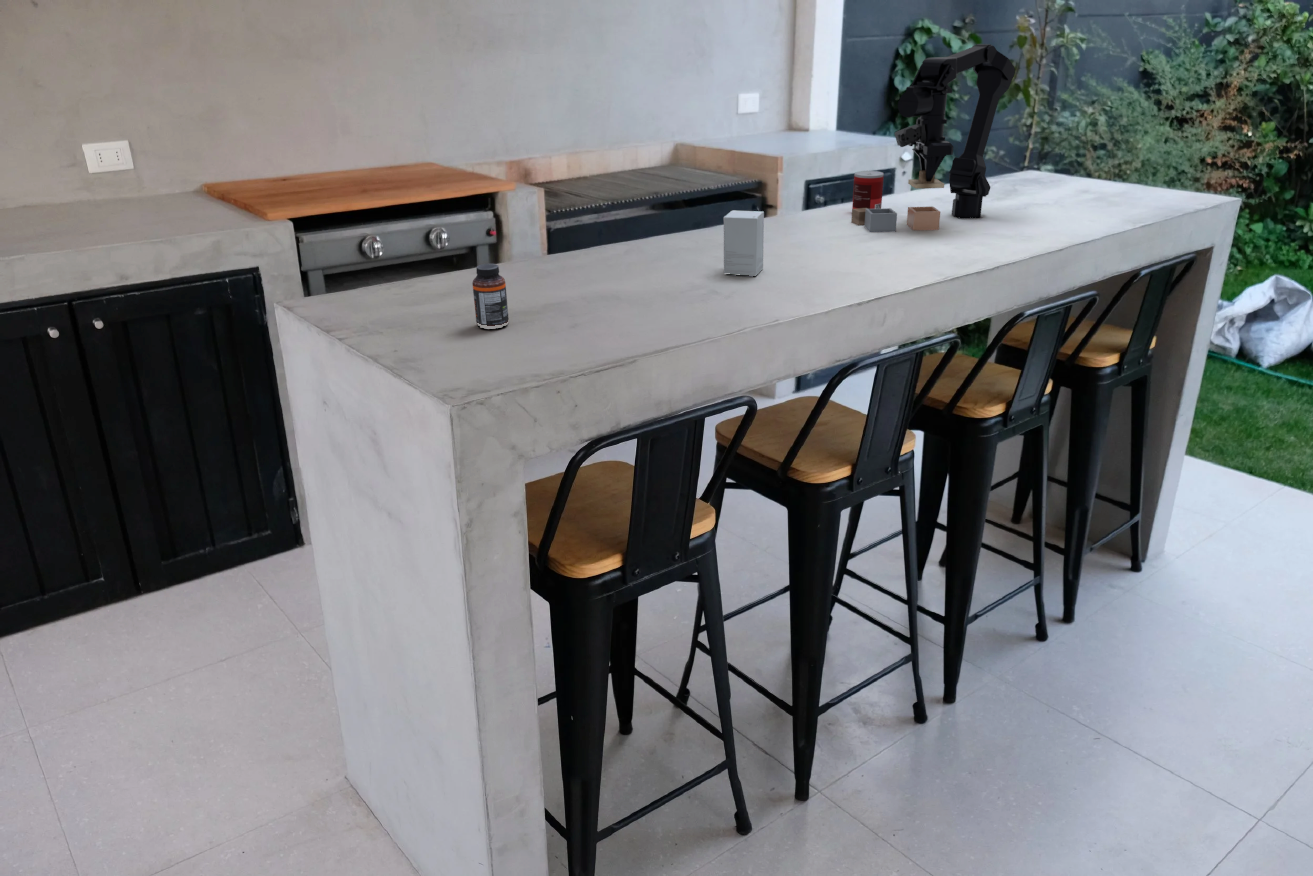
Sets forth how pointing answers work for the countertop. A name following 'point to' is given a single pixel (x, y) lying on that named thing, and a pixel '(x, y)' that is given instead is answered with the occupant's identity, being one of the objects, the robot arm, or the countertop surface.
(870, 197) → the canned food
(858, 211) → the walnut block
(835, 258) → the countertop surface
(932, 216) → the pot
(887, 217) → the grey open square bin
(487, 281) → the supplement bottle
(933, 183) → the lid
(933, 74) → the robot arm
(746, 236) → the supplement box
